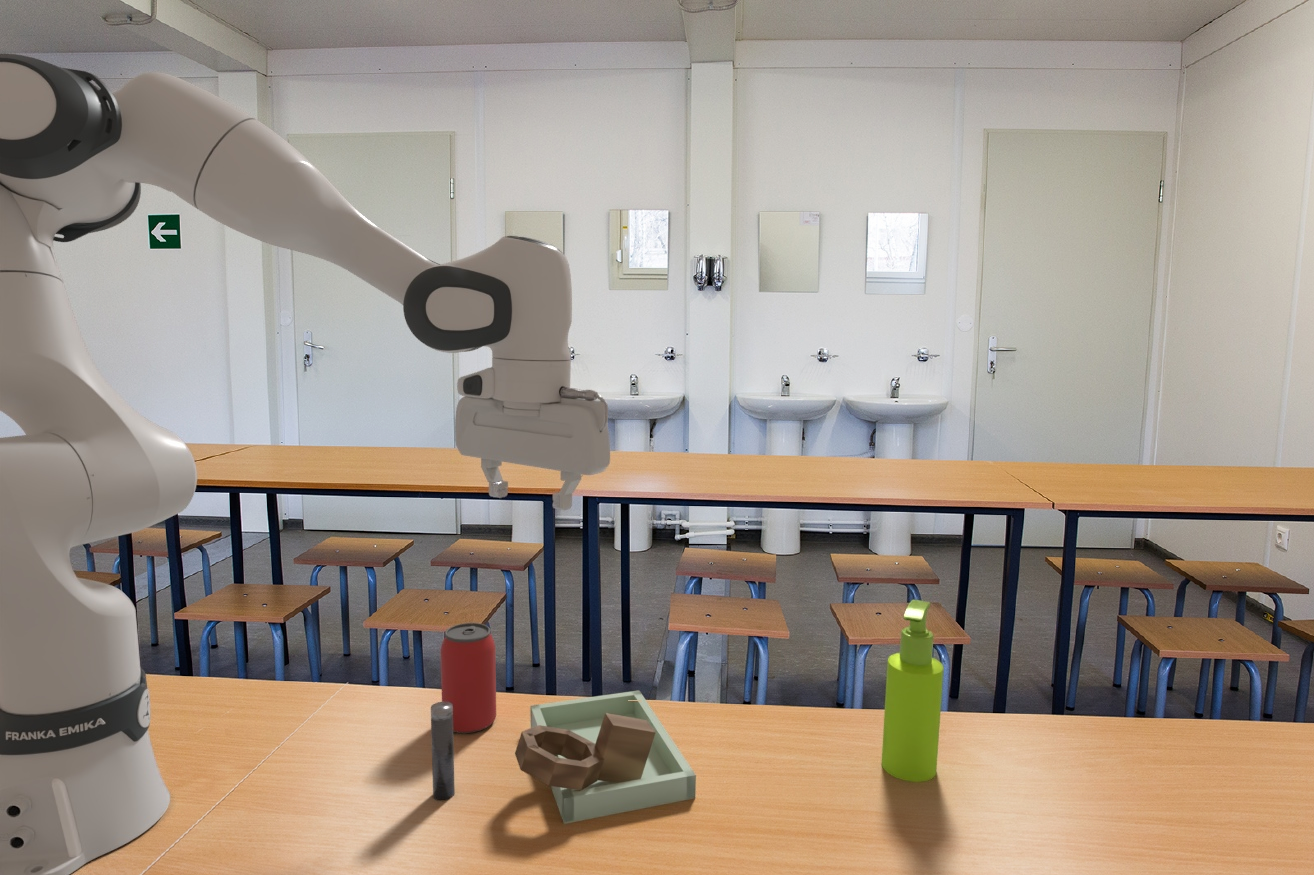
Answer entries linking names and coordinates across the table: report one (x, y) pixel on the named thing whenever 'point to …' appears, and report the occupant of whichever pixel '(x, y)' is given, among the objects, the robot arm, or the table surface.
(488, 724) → the beer can
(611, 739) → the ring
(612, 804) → the tray
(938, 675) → the soap dispenser
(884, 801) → the table surface
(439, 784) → the dark grey metal cylinder
